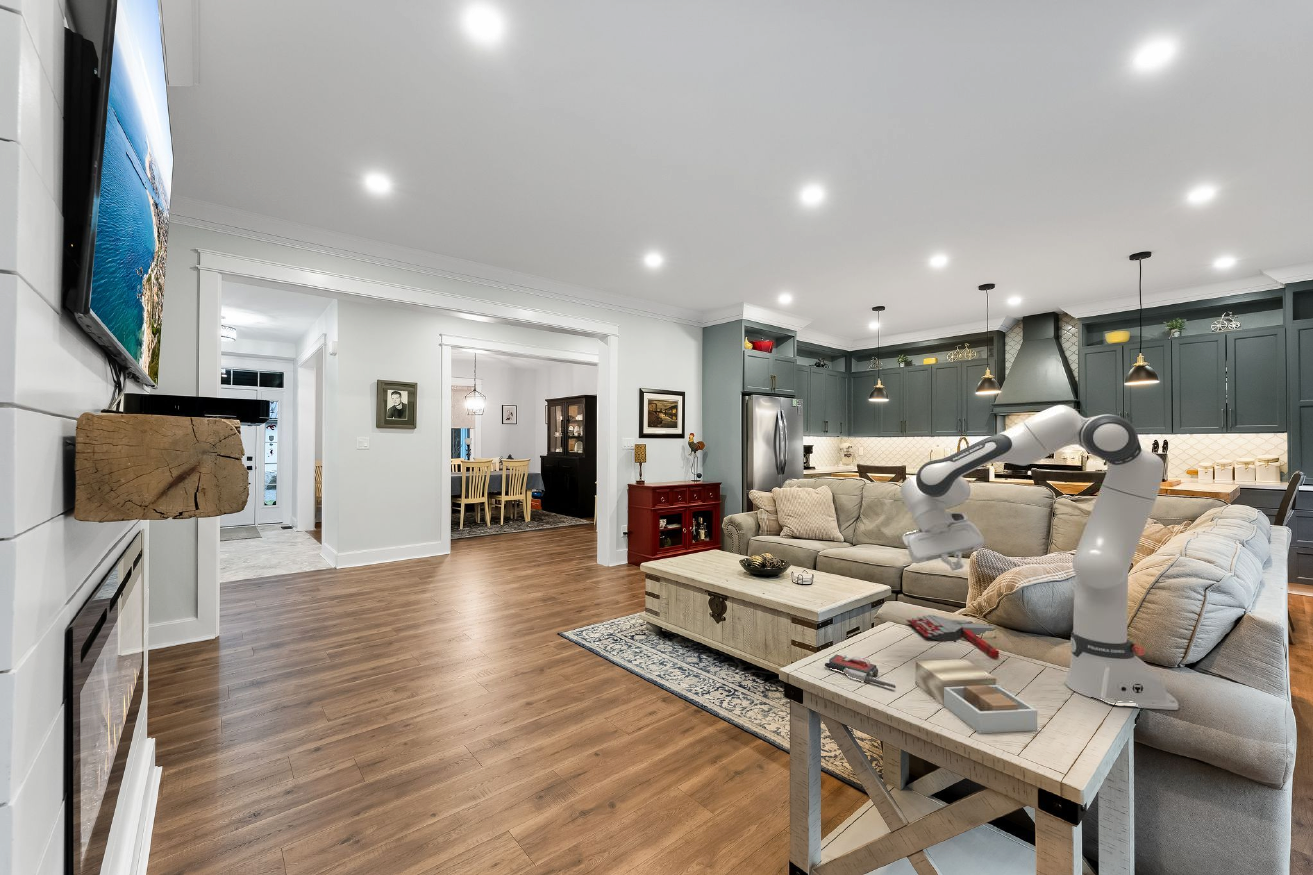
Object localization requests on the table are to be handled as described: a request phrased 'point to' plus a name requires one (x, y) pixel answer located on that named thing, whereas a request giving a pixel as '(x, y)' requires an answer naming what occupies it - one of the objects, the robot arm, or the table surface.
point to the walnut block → (987, 699)
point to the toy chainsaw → (856, 668)
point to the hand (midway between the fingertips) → (958, 568)
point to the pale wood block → (949, 676)
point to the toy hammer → (954, 631)
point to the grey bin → (991, 713)
